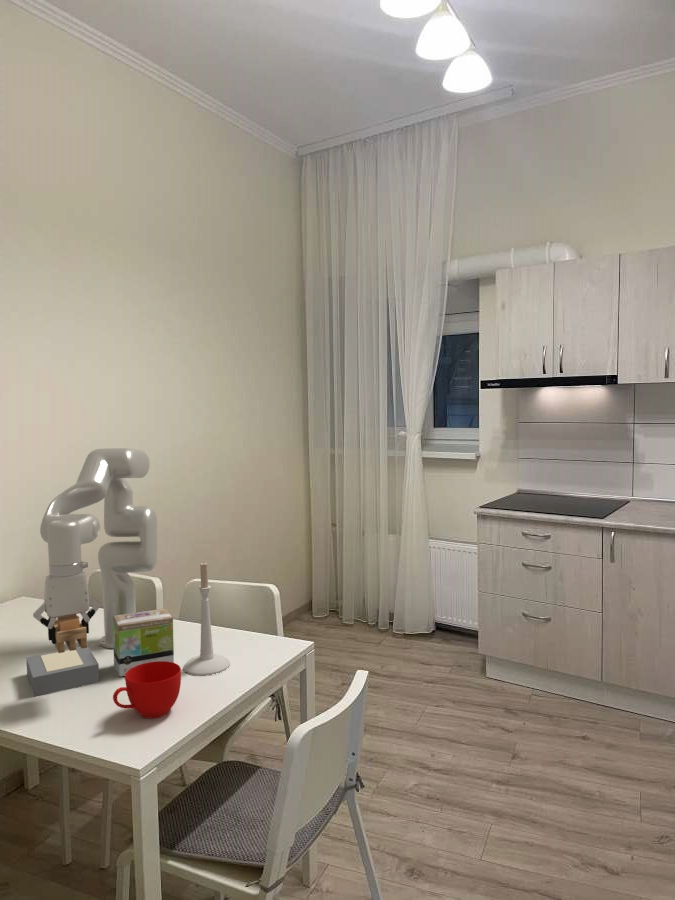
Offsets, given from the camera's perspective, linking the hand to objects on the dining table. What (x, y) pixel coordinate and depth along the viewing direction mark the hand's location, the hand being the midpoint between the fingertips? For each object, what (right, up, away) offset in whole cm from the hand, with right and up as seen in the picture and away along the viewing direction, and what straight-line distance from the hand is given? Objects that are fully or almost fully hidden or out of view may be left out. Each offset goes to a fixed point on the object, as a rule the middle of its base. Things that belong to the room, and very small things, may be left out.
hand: (69, 638), depth 164 cm
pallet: (0, -1, 0) cm, 1 cm away
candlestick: (+31, -14, +20) cm, 39 cm away
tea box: (+13, -14, +21) cm, 28 cm away
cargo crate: (0, +3, 0) cm, 3 cm away
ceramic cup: (+22, -16, -8) cm, 29 cm away
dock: (-7, -15, +14) cm, 21 cm away
